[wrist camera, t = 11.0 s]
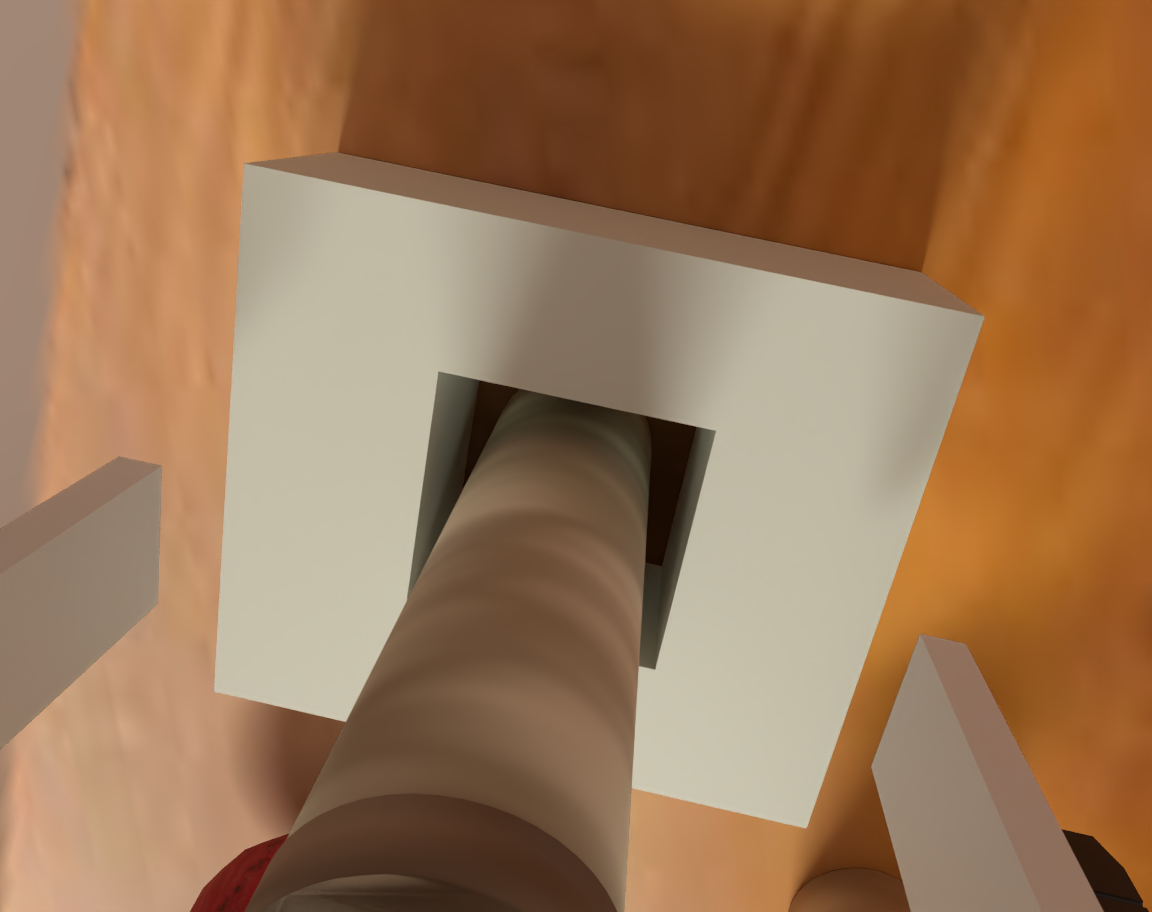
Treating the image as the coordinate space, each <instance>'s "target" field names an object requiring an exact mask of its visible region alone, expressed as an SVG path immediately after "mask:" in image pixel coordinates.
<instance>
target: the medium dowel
mask: <svg viewBox="0 0 1152 912" xmlns="http://www.w3.org/2000/svg"><path fill="white" fill-rule="evenodd" d="M789 912H911V910H910V907H909V903H908V899H907V896H906V892H905V888H904V885H903V882H901V881H900V880H898V879H896V878H895V877H893V876H890V875H888V874H886V873H883V872H879V871H876V870H871V869H863V868H847V869H839V870H835V871H831V872H828V873H825V874H822V875H820V876H818V877H816V878H814V879H813V880H811V881H809V882H808V883H807V884H806V885H804V886H803V887H802V888H801V889H800V890H799V891H798V893H797V894H796V895H795V897H794V898H793V900H792V903H791V905H790V908H789Z"/></svg>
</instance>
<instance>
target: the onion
mask: <svg viewBox="0 0 1152 912" xmlns="http://www.w3.org/2000/svg"><path fill="white" fill-rule="evenodd" d="M288 835H289V834H287V835H284V836H281V837H278V838H275V839H272V840H269V841H266V842H263V843H261V844H258V845H256V846H253V847H251V848H248V849H246V850H244V851H243V852H242V853H241V854H240V855H238V856H237V857H236V858H235V859H234V860H233V861H231V862H230V863H229V864H228V865H227V866H225V867H224V868H223V869H222V870H221V871H220V872H219V873H218V874H217V875H216V876H215V877H214V878H213V879H212V880H211V881H210V882H209V883H208V884H207V885H206V886H205V887H204V888H203V889H202V891H201V893H200V895H199V897H198V898H197V900H196V902H195V904H194V905H193V907H192V909H191V911H190V912H245V910H246V908H247V906H248V904H249V902H250V900H251V898H252V896H253V894H254V892H255V890H256V888H257V886H258V884H259V882H260V880H261V878H262V876H263V874H264V872H265V871H266V869H267V867H268V865H269V863H270V862H271V860H272V858H273V856H274V855H275V853H276V852H277V850H278V849H279V848H280V847H281V846H282V845H283V843H284V842H285V841H286V839H287V837H288Z"/></svg>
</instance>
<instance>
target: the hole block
mask: <svg viewBox="0 0 1152 912" xmlns="http://www.w3.org/2000/svg"><path fill="white" fill-rule="evenodd" d="M984 318H985V316H983V315H982V314H981V313H979V312H978V311H976V310H975V309H973V308H972V307H971V306H969V305H968V304H966V303H965V302H964V301H962V300H961V299H959V298H958V297H956V296H955V295H954V294H952V293H951V292H949V291H948V290H946V289H945V288H944V287H942V286H941V285H939V284H938V283H937V282H935V281H934V280H932V279H931V278H929V277H928V276H927V275H925V274H924V273H922V272H918V271H913V270H908V269H903V268H898V267H893V266H888V265H883V264H879V263H874V262H869V261H864V260H859V259H854V258H849V257H844V256H840V255H835V254H830V253H825V252H820V251H815V250H810V249H806V248H801V247H796V246H791V245H786V244H781V243H776V242H771V241H767V240H762V239H757V238H752V237H747V236H742V235H737V234H732V233H728V232H723V231H718V230H713V229H708V228H703V227H698V226H694V225H689V224H684V223H679V222H674V221H669V220H664V219H659V218H655V217H650V216H645V215H640V214H635V213H630V212H625V211H620V210H616V209H611V208H606V207H601V206H596V205H591V204H586V203H582V202H577V201H572V200H567V199H562V198H557V197H552V196H547V195H543V194H538V193H533V192H528V191H523V190H518V189H513V188H508V187H504V186H499V185H494V184H489V183H484V182H479V181H474V180H470V179H465V178H460V177H455V176H450V175H445V174H440V173H435V172H431V171H426V170H421V169H416V168H411V167H406V166H401V165H396V164H392V163H387V162H382V161H377V160H372V159H367V158H362V157H358V156H353V155H348V154H343V153H338V152H335V153H327V154H318V155H310V156H302V157H293V158H285V159H276V160H268V161H260V162H251V163H244V171H243V189H242V207H241V224H240V242H239V260H238V278H237V295H236V313H235V331H234V348H233V366H232V384H231V401H230V419H229V437H228V454H227V472H226V490H225V508H224V525H223V543H222V561H221V578H220V596H219V614H218V631H217V649H216V667H215V684H214V692H218V693H223V694H227V695H231V696H236V697H240V698H244V699H249V700H253V701H257V702H262V703H266V704H270V705H275V706H279V707H283V708H288V709H292V710H296V711H301V712H305V713H309V714H314V715H318V716H322V717H327V718H331V719H335V720H339V721H344V722H346V720H347V718H348V716H349V714H350V712H351V711H352V709H353V707H354V705H355V703H356V701H357V699H358V697H359V695H360V693H361V691H362V689H363V687H364V685H365V683H366V681H367V679H368V677H369V675H370V673H371V671H372V669H373V667H374V665H375V663H376V661H377V659H378V657H379V655H380V653H381V651H382V649H383V647H384V645H385V643H386V641H387V639H388V637H389V635H390V633H391V631H392V629H393V627H394V625H395V623H396V621H397V619H398V617H399V615H400V613H401V611H402V609H403V607H404V606H405V604H406V602H407V600H408V598H409V596H410V594H411V592H412V590H413V588H414V586H415V584H416V582H417V580H418V578H419V576H420V574H421V572H422V570H423V568H424V566H425V564H426V562H427V560H428V558H429V556H430V554H431V552H432V550H433V548H434V546H435V544H436V542H437V540H438V538H439V536H440V534H441V532H442V530H443V528H444V526H445V524H446V522H447V520H448V518H449V516H450V514H451V512H452V510H453V508H454V506H455V504H456V503H457V501H458V499H459V497H460V495H461V493H462V489H463V482H464V476H465V470H466V463H467V457H468V450H469V444H470V437H471V431H472V425H473V418H474V412H475V405H476V399H477V392H478V386H479V380H481V381H486V382H491V383H495V384H500V385H505V386H509V387H514V388H519V389H523V390H528V391H533V392H537V393H542V394H547V395H551V396H556V397H561V398H565V399H570V400H575V401H579V402H584V403H589V404H593V405H598V406H603V407H607V408H612V409H617V410H621V411H626V412H631V413H635V414H640V415H645V416H649V417H654V418H659V419H663V420H668V421H673V422H677V423H682V424H687V425H691V426H696V430H695V434H694V438H693V442H692V446H691V450H690V454H689V458H688V462H687V467H686V471H685V475H684V479H683V483H682V487H681V491H680V495H679V499H678V503H677V507H676V511H675V515H674V519H673V523H672V527H671V531H670V535H669V539H668V543H667V548H666V552H665V556H664V560H663V564H662V566H659V565H654V564H650V563H645V570H644V587H643V604H642V621H641V638H640V655H639V672H638V689H637V706H636V723H635V739H634V756H633V773H632V788H633V789H638V790H642V791H646V792H651V793H655V794H659V795H664V796H668V797H672V798H677V799H681V800H685V801H690V802H694V803H698V804H703V805H707V806H711V807H716V808H720V809H724V810H729V811H733V812H737V813H742V814H746V815H750V816H755V817H759V818H763V819H767V820H772V821H776V822H780V823H785V824H789V825H793V826H798V827H802V828H807V825H808V823H809V820H810V817H811V814H812V811H813V808H814V805H815V802H816V800H817V797H818V794H819V791H820V788H821V785H822V782H823V780H824V777H825V774H826V771H827V768H828V765H829V762H830V759H831V757H832V754H833V751H834V748H835V745H836V742H837V739H838V736H839V734H840V731H841V728H842V725H843V722H844V719H845V716H846V714H847V711H848V708H849V705H850V702H851V699H852V696H853V693H854V691H855V688H856V685H857V682H858V679H859V676H860V673H861V671H862V668H863V665H864V662H865V659H866V656H867V653H868V650H869V648H870V645H871V642H872V639H873V636H874V633H875V630H876V627H877V625H878V622H879V619H880V616H881V613H882V610H883V607H884V605H885V602H886V599H887V596H888V593H889V590H890V587H891V584H892V582H893V579H894V576H895V573H896V570H897V567H898V564H899V562H900V559H901V556H902V553H903V550H904V547H905V544H906V541H907V539H908V536H909V533H910V530H911V527H912V524H913V521H914V518H915V516H916V513H917V510H918V507H919V504H920V501H921V498H922V496H923V493H924V490H925V487H926V484H927V481H928V478H929V475H930V473H931V470H932V467H933V464H934V461H935V458H936V455H937V453H938V450H939V447H940V444H941V441H942V438H943V435H944V432H945V430H946V427H947V424H948V421H949V418H950V415H951V412H952V410H953V407H954V404H955V401H956V398H957V395H958V392H959V389H960V387H961V384H962V381H963V378H964V375H965V372H966V369H967V366H968V364H969V361H970V358H971V355H972V352H973V349H974V346H975V344H976V341H977V338H978V335H979V332H980V329H981V326H982V323H983V321H984Z"/></svg>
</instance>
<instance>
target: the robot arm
mask: <svg viewBox="0 0 1152 912" xmlns="http://www.w3.org/2000/svg"><path fill="white" fill-rule="evenodd" d="M161 480H162V466H161V465H156V464H152V463H147V462H143V461H138V460H133V459H129V458H124V457H120V456H119V457H117V458H116V459H114V460H112V461H111V462H109V463H107V464H106V465H104V466H103V467H101V468H99V469H98V470H96V471H94V472H93V473H91V474H89V475H88V476H86V477H84V478H83V479H81V480H79V481H78V482H76V483H74V484H73V485H71V486H69V487H68V488H66V489H64V490H63V491H61V492H60V493H58V494H56V495H55V496H53V497H51V498H50V499H48V500H46V501H45V502H43V503H41V504H40V505H38V506H36V507H35V508H33V509H31V510H30V511H28V512H26V513H25V514H23V515H22V516H20V517H18V518H17V519H15V520H13V521H12V522H10V523H8V524H7V525H5V526H4V527H2V528H0V750H1V749H2V748H3V747H4V746H5V745H6V744H7V743H8V742H9V741H10V740H11V739H12V738H14V737H15V736H16V735H17V734H18V733H19V732H20V731H21V730H22V729H23V728H24V727H25V726H26V725H28V724H29V723H30V722H31V721H32V720H33V719H34V718H35V717H36V716H37V715H38V714H39V713H41V712H42V711H43V710H44V709H45V708H46V707H47V706H48V705H49V704H50V703H51V702H52V701H53V700H55V699H56V698H57V697H58V696H59V695H60V694H61V693H62V692H63V691H64V690H65V689H66V688H68V687H69V686H70V685H71V684H72V683H73V682H74V681H75V680H76V679H77V678H78V677H79V676H81V675H82V674H83V673H84V672H85V671H86V670H87V669H88V668H89V667H90V666H91V665H92V664H93V663H95V662H96V661H97V660H98V659H99V658H100V657H101V656H102V655H103V654H104V653H105V652H106V651H108V650H109V649H110V648H111V647H112V646H113V645H114V644H115V643H116V642H117V641H118V640H119V639H120V638H122V637H123V636H124V635H125V634H126V633H127V632H128V631H129V630H130V629H131V628H132V627H133V626H135V625H136V624H137V623H138V622H139V621H140V620H141V619H142V618H143V617H144V616H145V615H146V614H147V613H149V612H150V611H151V610H152V609H153V608H154V607H155V606H156V605H157V604H158V582H159V548H160V514H161ZM871 768H872V771H873V775H874V779H875V782H876V786H877V790H878V793H879V797H880V801H881V804H882V808H883V812H884V815H885V819H886V823H887V826H888V830H889V834H890V837H891V841H892V845H893V848H894V852H895V856H896V859H897V863H898V866H899V870H900V874H901V877H902V881H903V885H904V888H905V892H906V896H907V899H908V903H909V907H910V910H911V912H1149V911H1148V909H1147V908H1144V907H1143V905H1142V903H1143V901H1142V899H1141V897H1140V895H1139V894H1138V892H1137V890H1136V888H1135V887H1134V885H1133V883H1132V881H1131V880H1130V878H1129V876H1128V874H1127V873H1126V871H1125V869H1124V868H1123V867H1122V866H1121V865H1120V864H1119V863H1118V862H1117V861H1116V860H1115V859H1114V858H1113V857H1112V856H1111V855H1110V854H1109V853H1108V852H1107V851H1106V850H1105V849H1104V848H1103V847H1102V846H1101V844H1100V843H1099V842H1098V841H1097V840H1096V839H1095V838H1094V837H1093V836H1088V835H1084V834H1080V833H1075V832H1071V831H1067V830H1062V829H1061V828H1060V826H1059V824H1058V822H1057V820H1056V818H1055V816H1054V814H1053V812H1052V810H1051V808H1050V806H1049V804H1048V802H1047V800H1046V798H1045V797H1044V795H1043V793H1042V791H1041V789H1040V787H1039V785H1038V783H1037V781H1036V779H1035V777H1034V775H1033V773H1032V771H1031V769H1030V767H1029V765H1028V763H1027V762H1026V760H1025V758H1024V756H1023V754H1022V752H1021V750H1020V748H1019V746H1018V744H1017V742H1016V740H1015V738H1014V736H1013V734H1012V732H1011V730H1010V728H1009V727H1008V725H1007V723H1006V721H1005V719H1004V717H1003V715H1002V713H1001V711H1000V709H999V707H998V705H997V703H996V701H995V699H994V697H993V695H992V693H991V692H990V690H989V688H988V686H987V684H986V682H985V680H984V678H983V676H982V674H981V672H980V670H979V668H978V666H977V664H976V662H975V660H974V658H973V656H972V655H971V653H970V651H969V649H968V647H967V645H966V644H964V643H960V642H955V641H951V640H946V639H942V638H937V637H933V636H928V635H924V634H920V635H919V638H918V641H917V644H916V646H915V649H914V652H913V654H912V657H911V660H910V663H909V665H908V668H907V671H906V673H905V676H904V679H903V682H902V684H901V687H900V690H899V692H898V695H897V698H896V700H895V703H894V706H893V709H892V711H891V714H890V717H889V719H888V722H887V725H886V728H885V730H884V733H883V736H882V738H881V741H880V744H879V747H878V749H877V752H876V755H875V757H874V760H873V763H872V766H871Z"/></svg>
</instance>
